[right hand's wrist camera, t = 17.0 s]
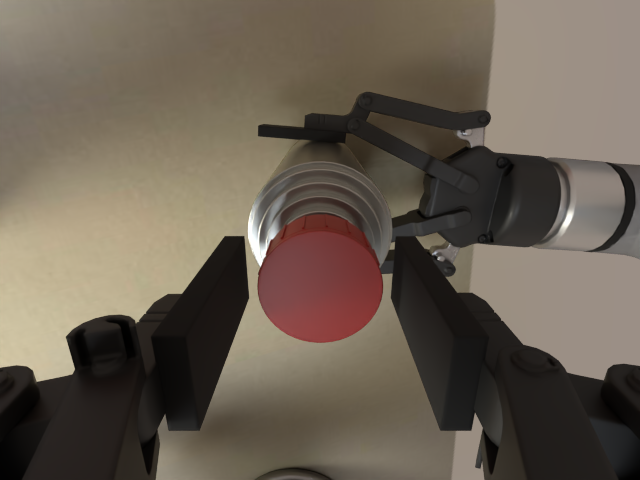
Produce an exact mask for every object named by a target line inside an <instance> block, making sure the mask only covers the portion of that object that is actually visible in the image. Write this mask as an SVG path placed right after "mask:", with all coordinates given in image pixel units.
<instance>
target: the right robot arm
mask: <svg viewBox="0 0 640 480" xmlns="http://www.w3.org/2000/svg"><path fill="white" fill-rule="evenodd" d="M248 299H249V291H248V278H247V265H246V252H245V239H244V236H225V237H224V238H223V240H222V241H221V242H220V244H219V245H218V246H217V248H216V249H215V250H214V252H213V253H212V254H211V256H210V257H209V258H208V260H207V261H206V262H205V264H204V265H203V267H202V268H201V269H200V271H199V272H198V273H197V275H196V276H195V277H194V279H193V280H192V281H191V283H190V284H189V285H188V287H187V288H186V289H185V291H184V292H183V294H167V295H166V296H164V297H162V298H161V299H159V300H157V301H156V302H154V303H153V305H152V306H151V307H150V308H149V309H148V311H147V312H146V314H144V315H143V316H142V318H141V319H140V320H139V322H137V323H135V320H134V319H132V318H131V317H130V316H125V315H108V316H103V317H99V318H95V319H93V320H90V321H87V322H85V323H83V324H81V325H79V326H78V327H76V328H74V329H73V330H72V331H71V332H70V333H69V334H68V335H67V336H66V339H67V342H68V346H69V349H70V353H71V356H72V360H73V363H74V367H75V371H74V373H73V374H72V375H68V376H64V377H59V378H54V379H49V380H44V381H40V382H36V379H35V376H34V373H33V370H31V369H30V368H28V367H27V366H17V365H16V366H10V367H2V368H0V480H156V472H157V464H158V455H159V447H160V441H159V435H158V430H157V429H158V427H159V425H160V423H161V421H162V419H163V417H164V415H165V414H166V419H167V424H168V430H169V431H200V428H201V425H202V423H203V420H204V417H205V415H206V412H207V409H208V407H209V404H210V401H211V399H212V396H213V393H214V391H215V388H216V385H217V382H218V380H219V377H220V374H221V372H222V369H223V366H224V364H225V361H226V358H227V356H228V353H229V350H230V348H231V345H232V342H233V340H234V337H235V334H236V332H237V329H238V326H239V324H240V321H241V318H242V316H243V313H244V310H245V307H246V305H247V302H248ZM391 299H392V302H393V305H394V307H395V310H396V313H397V316H398V318H399V321H400V324H401V326H402V329H403V332H404V334H405V337H406V340H407V342H408V345H409V348H410V350H411V353H412V356H413V358H414V361H415V364H416V366H417V369H418V372H419V374H420V377H421V380H422V383H423V385H424V388H425V391H426V393H427V396H428V399H429V401H430V404H431V407H432V409H433V412H434V415H435V417H436V420H437V423H438V425H439V428H440V431H471V429H472V424H473V419H474V414H475V413H476V415H477V417H478V419H479V421H480V423H481V425H482V427H483V430H482V435H481V440H480V445H479V449H478V454H477V459H476V466H475V467H476V468H481V463H482V462H483V471H484V479H485V480H640V366H635V365H628V364H618V365H613V366H611V367H610V368H608V370H607V373H606V376H605V379H604V380H599V379H594V378H589V377H584V376H579V375H574V374H570V373H567V372H566V370H565V368H564V367H563V366H562V364H561V363H560V362H559V361H558V360H557V359H555V358H554V357H553V356H551V355H550V354H548V353H546V352H544V351H542V350H540V349H537V348H534V347H530V346H526V345H523V344H522V343H521V342H520V340H519V339H518V338H517V337H516V336H515V335H514V334H513V332H512V331H511V330H510V329H509V328H508V327H507V325H506V324H505V323H504V322H503V321H501V318H500V317H499V316H498V315H497V314H496V313H494V310H493V309H492V308H491V307H490V305H489V304H488V303H487V302H486V301H485V300H483V299H481V298H480V297H478V296H476V295H475V294H473V293H457V292H456V291H455V289H454V288H453V287H452V285H451V284H450V283H449V281H448V280H447V279H446V277H445V276H444V275H443V273H442V272H441V271H440V269H439V268H438V267H437V265H436V264H435V262H434V261H433V260H432V258H431V257H430V256H429V254H428V253H427V252H426V250H425V249H424V248H423V246H422V245H421V244H420V242H419V241H418V240H417V238H416V237H415V236H396V239H395V252H394V265H393V277H392V290H391Z"/></svg>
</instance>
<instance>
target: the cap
mask: <svg viewBox="0 0 640 480" xmlns="http://www.w3.org/2000/svg"><path fill="white" fill-rule="evenodd" d="M265 255H266V256H265V257H264V259H263V262H262V264H261V267H260V270H259V272H258V275H259V277H258V296H259V300H260V303H261V306H262V308H263V310H264V312H265V314H266V315H267V317H268V318H269V319H270V321H271V322H272V323H273V324H274V325H275V326H276V327H278V328H279V329H280V330H281V331H283V332H285V333H286V334H288V335H290V336H292V337H294V338H297V339H300V340H304V341H308V342H317V343H322V342H333V341H337V340H341V339H344V338H346V337H349V336H351V335H353V334H354V333H356V332H358V331H359V330H361V329H362V328H363V327H364V326H365V325H366V324H367V323H368V322H369V321H370V320H371V319H372V317H373V316H374V315H375V313H376V311H377V309H378V307H379V305H380V302H381V298H382V294H383V280H382V275H381V271H380V268H379V266H380V263H379V260H378V258H377V255H376V252H375V250H374V249H372V247H371V244H370V243H369V241H368V239H367V238H366V235H365V233H364V232H361V231H360V230H359V229H358V228H357V227H356V226H354V225H353V224H352V223H350V222H348V220H347V219H346V220H344V219H341V218H339V217H335V216H331V215H327V214H325V215H310V216H303V217H302V218H299V219H297V220H294V221H292V222H291V223H289V224H287V225H286V224H285V225H284V227H283V228H282V229H281V230H280V231H279V232H278V233H277V234H276V236H275V237H274V238H273V240H272V239H271V240H270V243H269V246H268V248H267V251H266V254H265Z"/></svg>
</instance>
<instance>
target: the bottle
mask: <svg viewBox="0 0 640 480" xmlns="http://www.w3.org/2000/svg"><path fill="white" fill-rule="evenodd" d="M325 214H327V215H331V216H335V217H339V218H341V219H344V220H346V219H347V220H348V222H350V223H352V224H353V225H354V226H356V227H357V228H358V229H359V230H360V231H361V232H364V233H365V235H366V238H367V239H368V241H369V243H370V244H371V247H372V249H374V250H375V252H376V255H377V258H378V260H379V263H380V266H379V268H380V267H381V266H382V264H383V262H384V260H385V258H386V256H387V254H388V251H389V248H390V245H391V240H392V219H391V214H390V210H389V208H388V205H387V202H386V200H385V199H384V197H383V195H382V193H381V192H380V190H379V189H378V188H377V186H376V185H375V184H374V182H373V181H372V179H371V178H370V177H369V175H368V174H367V172H366V171H365V170H364V168H363V167H362V165H361V164H360V163H359V161H358V160H357V159H356V157H355V156H354V154H353V153H352V152H351V150H350V149H349V147H348V146H347V145H346V144H345V143H335V142H323V141H310V140H300V141H298V142H297V143H296V144H295V145H294V146H293V147H292V148H291V149H290V151H289V152H288V153H287V155H286V156H285V158H284V159H283V160H282V162H281V163H280V165H279V166H278V167H277V169H276V170H275V172H274V173H273V174H272V176H271V177H270V179H269V180H268V181H267V183H266V184H265V186H264V187H263V188H262V190H261V191H260V193H259V194H258V195H257V197H256V199H255V201H254V203H253V206H252V209H251V212H250V216H249V221H248V236H249V242H250V247H251V250H252V253H253V255H254V257H255V259H256V261H257V263H258V265H259V267H261V264H262V262H263V259H264V257H265V256H266V255H265V254H266V251H267V248H268V246H269V243H270V240H271V239H272V240H273V238H274V237H275V236H276V234H277V233H278V232H279V231H280V230H281V229H282V228H283V227H284V225H285V224H286V225H287V224H289V223H291V222H292V221H294V220H297V219H299V218H302V217H303V216H310V215H325Z"/></svg>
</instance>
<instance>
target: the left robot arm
mask: <svg viewBox="0 0 640 480" xmlns="http://www.w3.org/2000/svg"><path fill="white" fill-rule="evenodd" d="M370 111H371V112H375V113H380V114H384V115H388V116H392V117H397V118H401V119H405V120H409V121H414V122H418V123H422V124H426V125H431V126H435V127H439V128H445V129H451V130H453V134H454V136H455V137H456V138H458V139H463V140H464V141H465V142H466V145H467V146H466V147H464V148H463V149H461V150H459V151H458V152H456V153H454V154H452V155H451V156H449V157H447V158H445V159H444V160H442V161H440V160H438V159H436V158H434V157H432V156H430V155H428V154H426V153H424V152H423V151H421V150H419V149H417V148H415V147H413V146H411V145H409V144H407V143H405V142H404V141H402V140H400V139H398V138H396V137H394V136H392V135H390V134H388V133H387V132H385V131H383V130H381V129H379V128H377V127H375V126H373V125H371V124H369V123H368V122H366V120H367V118H368V115H369V113H370ZM490 119H491V116H490V114H489V112H487V111H481V110H469V111H461V112H451V111H446V110H442V109H438V108H434V107H430V106H426V105H421V104H417V103H413V102H409V101H405V100H401V99H396V98H392V97H388V96H384V95H380V94H376V93H371V92H364V93H362V94H360V95H359V96H358V97H357V99H356V102H355V104H354V106H353V108H352V110H351V112H350V113H349V114H347V115H344V116H340V115H328V114H316V113H311V114H308V115H305V126H304V127H292V126H280V125H268V124H263V125H259V126H258V136H262V137H274V138H286V139H298V140H310V141H323V142H335V143H345V137H346V133H351V134H354V135H356V136H358V137H360V138H362V139H364V140H365V141H367V142H369V143H371V144H373V145H375V146H377V147H379V148H381V149H383V150H385V151H387V152H389V153H391V154H392V155H394V156H396V157H398V158H400V159H402V160H404V161H406V162H408V163H410V164H412V165H414V166H416V167H418V168H420V169H421V170H423V171H425V172H427V174H425V176H424V182H423V184H424V193H423V196H422V198H421V200H420V204H419V209H416V210H412V211H409V212H408V213H407V214H405V215H402V216H398V217H395V218H391V219H392V240H391V242H395V239H396V236H425V235H429V234H432V233H436V232H437V233H438V234H440V235H441V236H442V237H443V238H444V239H445V240H446V242H445V243H444V244H443V245H440V246H432V247H431V248H430V250H428V249H425V250H426V252H427V253H428V254H429V256H430V257H431V258H432V260H433V261H434V262H435V264H436V265H437V267H438V268H439V269H440V271H441V272H442V273H443V275H444V276H446V277H449V276H452V275H453V274H454V273H455V271H456V268H455V266H454V265H453V262H454V260H455V258H456V255H457V253H458V251H459V249H460V248H462V247H466V246H468V245H471V244H476V243H480V244H489V245H502V246H516V247H530V246H532V247H535V248H539V249H556V250H573V251H585V252H600V253H610V254H621V255H627V256H632V257H635V258H638V259H640V165H629V164H614V163H608V162H599V161H588V160H576V159H565V158H547V159H546V158H544V157H541V156H529V155H517V154H505V153H495V152H493V151H491V150H490V149H488V148H487V147H485V146H484V127H485V126H487V125H488V124H489V122H490ZM394 252H395V250H389V251H388V254H387V256H386V258H385V260H384V262H383V264H382V266H381V267H380V271H381V274H390V273H393V265H394ZM256 480H330V479H328V478H327V477H325V476H323V475H320V474H318V473H315V472H311V471H307V470H300V469H284V470H278V471H274V472H270V473H267V474H265V475H263V476H261V477H259V478H257V479H256Z"/></svg>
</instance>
